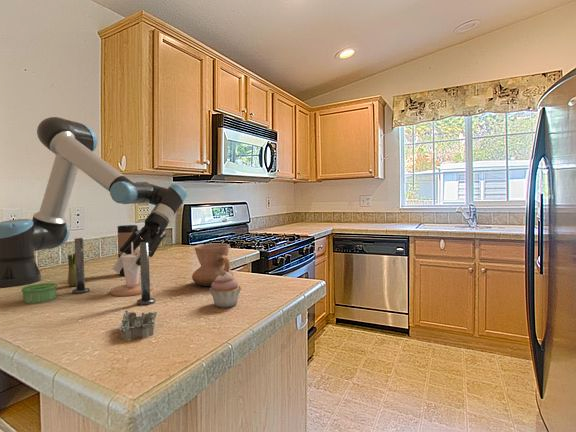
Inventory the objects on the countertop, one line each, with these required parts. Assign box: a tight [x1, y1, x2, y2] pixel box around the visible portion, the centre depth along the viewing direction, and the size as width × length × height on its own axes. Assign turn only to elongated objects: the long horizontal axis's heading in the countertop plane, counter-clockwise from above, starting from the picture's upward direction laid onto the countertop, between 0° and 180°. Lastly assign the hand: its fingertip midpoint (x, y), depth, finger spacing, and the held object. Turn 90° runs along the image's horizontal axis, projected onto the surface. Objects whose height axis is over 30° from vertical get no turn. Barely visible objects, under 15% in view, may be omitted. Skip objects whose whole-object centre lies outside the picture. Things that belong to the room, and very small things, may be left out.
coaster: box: [110, 282, 154, 297], centre depth 117 cm, size 13×13×1 cm
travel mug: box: [117, 224, 140, 277], centre depth 142 cm, size 8×8×20 cm
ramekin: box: [21, 282, 58, 305], centre depth 107 cm, size 9×9×4 cm
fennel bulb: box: [67, 251, 76, 287], centre depth 124 cm, size 6×5×12 cm
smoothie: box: [121, 242, 141, 285], centre depth 116 cm, size 6×6×14 cm
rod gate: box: [71, 237, 156, 306], centre depth 109 cm, size 35×5×18 cm, turn 65°
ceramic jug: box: [191, 242, 234, 287], centre depth 124 cm, size 18×14×14 cm
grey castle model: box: [119, 309, 158, 341], centre depth 81 cm, size 11×8×4 cm
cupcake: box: [208, 271, 242, 309], centre depth 100 cm, size 9×9×10 cm
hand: (122, 271), depth 113 cm, fingers closed on smoothie, 6 cm apart
